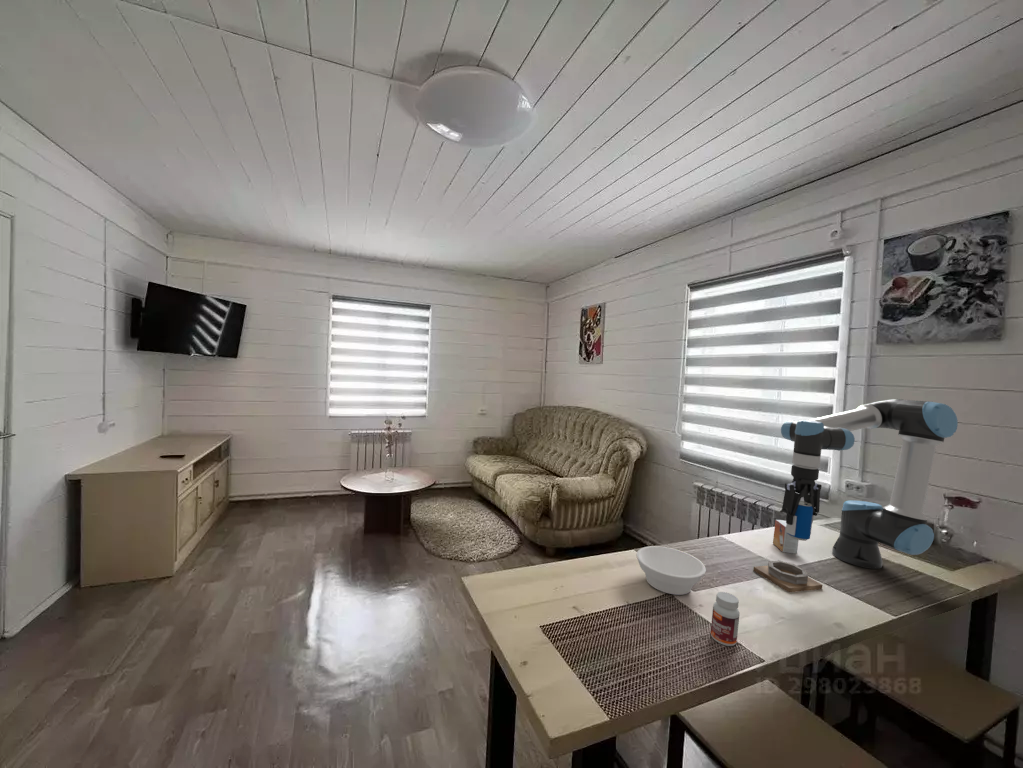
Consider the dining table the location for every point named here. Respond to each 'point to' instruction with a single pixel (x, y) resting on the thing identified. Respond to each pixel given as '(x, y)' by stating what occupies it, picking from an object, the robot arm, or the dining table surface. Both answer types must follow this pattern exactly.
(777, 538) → the small box
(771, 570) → the socket
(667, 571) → the bowl
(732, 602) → the pill bottle
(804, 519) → the beverage can
